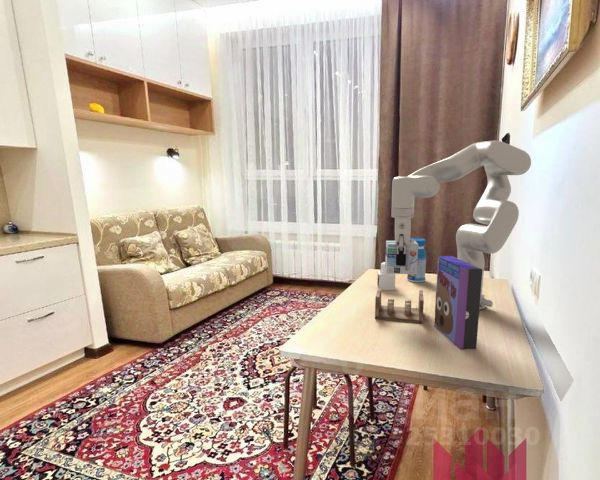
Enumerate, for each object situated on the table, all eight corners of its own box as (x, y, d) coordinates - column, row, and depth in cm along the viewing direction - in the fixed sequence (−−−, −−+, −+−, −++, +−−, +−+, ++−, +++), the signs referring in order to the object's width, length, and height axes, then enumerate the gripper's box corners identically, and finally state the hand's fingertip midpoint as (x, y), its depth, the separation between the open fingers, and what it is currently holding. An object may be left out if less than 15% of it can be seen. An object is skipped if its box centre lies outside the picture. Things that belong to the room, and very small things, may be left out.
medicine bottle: (377, 285, 174) (378, 259, 172) (393, 286, 173) (394, 260, 171) (378, 290, 167) (379, 263, 165) (394, 290, 166) (395, 264, 164)
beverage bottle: (422, 283, 176) (425, 241, 173) (404, 281, 180) (406, 239, 177) (427, 279, 183) (429, 238, 180) (409, 277, 188) (411, 237, 184)
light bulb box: (386, 274, 132) (386, 243, 130) (384, 269, 138) (385, 240, 136) (418, 274, 130) (419, 243, 128) (414, 269, 137) (415, 240, 135)
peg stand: (422, 323, 129) (423, 300, 128) (374, 318, 133) (375, 297, 132) (421, 311, 140) (422, 290, 139) (377, 307, 145) (378, 287, 143)
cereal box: (434, 326, 127) (438, 255, 123) (447, 325, 127) (452, 255, 123) (460, 349, 110) (466, 268, 106) (476, 348, 110) (482, 268, 106)
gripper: (414, 215, 121) (412, 269, 124) (413, 210, 138) (412, 258, 141) (390, 215, 124) (388, 268, 127) (392, 210, 140) (391, 257, 143)
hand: (401, 262), depth 134 cm, fingers closed on light bulb box, 7 cm apart
